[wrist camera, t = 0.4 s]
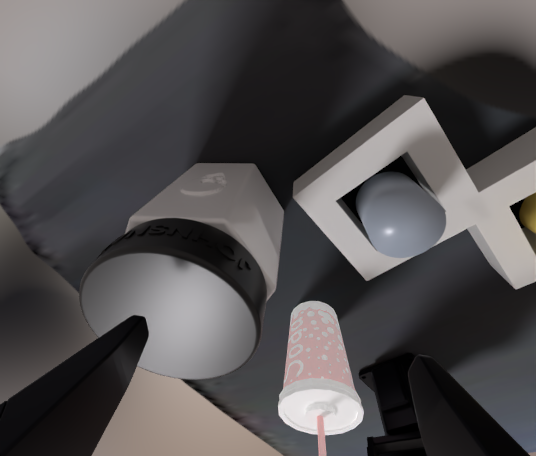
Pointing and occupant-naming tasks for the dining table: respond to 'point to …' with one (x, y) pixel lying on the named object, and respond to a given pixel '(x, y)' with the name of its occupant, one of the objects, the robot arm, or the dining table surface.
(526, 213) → the mustard button
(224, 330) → the jar
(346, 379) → the beverage cup
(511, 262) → the hollow square frame
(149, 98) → the dining table surface
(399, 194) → the slate button
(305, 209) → the light gray housing
